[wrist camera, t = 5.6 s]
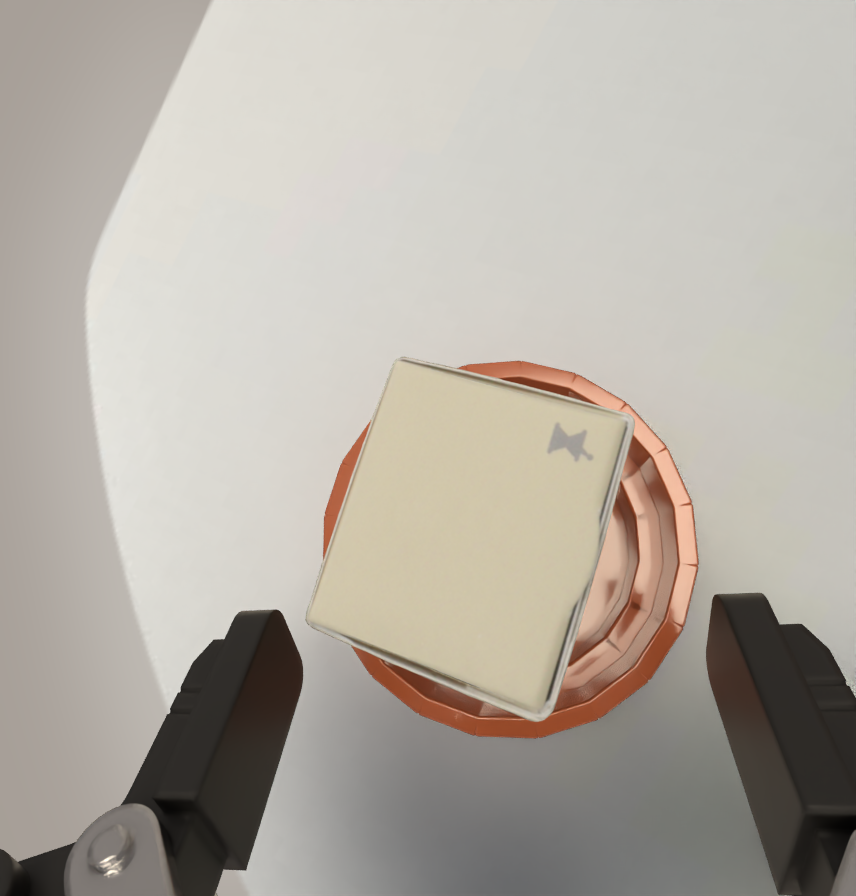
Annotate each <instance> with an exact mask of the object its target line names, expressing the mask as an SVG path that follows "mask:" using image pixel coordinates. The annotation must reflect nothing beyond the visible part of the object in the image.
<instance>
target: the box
mask: <svg viewBox="0 0 856 896" xmlns="http://www.w3.org/2000/svg"><path fill="white" fill-rule="evenodd" d="M634 427H635V421H634V417H633V416H631V415H630V414H628V413H625V412H621V411H617V410H613V409H609V408H606V407H602V406H598V405H594V404H591V403H587V402H584V401H581V400H577V399H574V398H570V397H567V396H563V395H560V394H556V393H552V392H548V391H544V390H540V389H537V388H533V387H529V386H525V385H522V384H518V383H513V382H509V381H505V380H502V379H499V378H495V377H490V376H486V375H481V374H477V373H473V372H469V371H465V370H461V369H457V368H452V367H448V366H444V365H439V364H434V363H429V362H424V361H420V360H417V359H412V358H407V357H401V358H398V359H396V360H395V362H394V364H393V366H392V368H391V370H390V373H389V376H388V378H387V381H386V384H385V386H384V389H383V391H382V394H381V397H380V399H379V402H378V405H377V407H376V410H375V413H374V415H373V418H372V420H371V423H370V426H369V429H368V432H367V435H366V437H365V440H364V442H363V445H362V448H361V451H360V454H359V456H358V459H357V462H356V465H355V468H354V471H353V473H352V476H351V479H350V482H349V485H348V489H347V492H346V495H345V498H344V500H343V503H342V506H341V508H340V511H339V514H338V518H337V521H336V524H335V527H334V530H333V533H332V536H331V539H330V542H329V545H328V548H327V551H326V554H325V557H324V560H323V563H322V566H321V569H320V573H319V576H318V579H317V582H316V586H315V589H314V592H313V595H312V599H311V601H310V604H309V607H308V609H307V613H306V619H305V620H306V622H307V623H308V625H310V626H311V627H312V628H314V629H316V630H318V631H320V632H322V633H325V634H327V635H329V636H331V637H333V638H336V639H338V640H340V641H342V642H345V643H347V644H349V645H351V646H354V647H356V648H359V649H361V650H363V651H366V652H368V653H370V654H372V655H374V656H376V657H378V658H380V659H383V660H385V661H387V662H389V663H392V664H394V665H397V666H400V667H402V668H404V669H407V670H409V671H411V672H414V673H416V674H418V675H420V676H423V677H425V678H427V679H430V680H432V681H434V682H437V683H439V684H441V685H444V686H446V687H449V688H451V689H454V690H456V691H459V692H461V693H463V694H465V695H468V696H470V697H473V698H475V699H478V700H480V701H483V702H485V703H488V704H490V705H493V706H495V707H498V708H500V709H503V710H505V711H508V712H510V713H513V714H515V715H518V716H520V717H522V718H525V719H527V720H529V721H533V722H539V721H543V720H545V719H546V718H547V717H548V716H550V714H551V713H552V712H553V710H554V708H555V705H556V702H557V698H558V695H559V692H560V689H561V686H562V682H563V679H564V676H565V673H566V670H567V666H568V663H569V660H570V657H571V654H572V651H573V647H574V644H575V641H576V637H577V634H578V630H579V627H580V624H581V620H582V617H583V613H584V610H585V606H586V603H587V599H588V596H589V592H590V589H591V586H592V582H593V579H594V575H595V572H596V568H597V565H598V561H599V558H600V554H601V551H602V547H603V544H604V540H605V537H606V533H607V529H608V525H609V522H610V518H611V514H612V510H613V506H614V503H615V499H616V495H617V491H618V487H619V484H620V480H621V476H622V472H623V469H624V465H625V461H626V457H627V454H628V450H629V446H630V443H631V440H632V437H633V433H634Z"/></svg>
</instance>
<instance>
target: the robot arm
mask: <svg viewBox="0 0 856 896" xmlns="http://www.w3.org/2000/svg"><path fill="white" fill-rule="evenodd" d="M706 661H707V670H708V676H709V680H710V684H711V688H712V691H713V694H714V697H715V700H716V703H717V706H718V709H719V712H720V716H721V719H722V722H723V725H724V728H725V731H726V734H727V737H728V740H729V743H730V746H731V749H732V753H733V756H734V759H735V762H736V765H737V768H738V771H739V774H740V777H741V780H742V783H743V786H744V789H745V793H746V796H747V799H748V802H749V805H750V808H751V811H752V814H753V817H754V820H755V823H756V826H757V830H758V833H759V836H760V839H761V842H762V845H763V848H764V851H765V854H766V857H767V860H768V863H769V867H770V870H771V873H772V876H773V879H774V882H775V885H776V888H777V891H778V894H779V895H802V896H856V698H855V696H854V694H853V692H852V691H851V689H850V687H849V686H847V685H846V679H845V678H844V676H843V674H842V672H841V670H840V668H839V666H838V665H837V663H836V661H835V659H834V657H833V655H832V653H831V652H830V650H829V649H828V648H827V647H826V646H825V645H824V644H823V643H822V642H821V641H820V640H819V639H818V638H816V637H815V636H814V635H813V634H812V633H811V632H810V631H809V630H808V629H807V628H806V627H805V626H803V625H802V624H783V625H779V623H778V620H777V618H776V616H775V614H774V612H773V610H772V608H771V606H770V604H769V602H768V600H767V598H766V597H765V596H764V595H763V594H762V593H742V594H716V595H714V597H713V600H712V608H711V616H710V624H709V632H708V640H707V648H706ZM302 683H303V665H302V660H301V657H300V654H299V652H298V650H297V647H296V645H295V642H294V640H293V638H292V635H291V633H290V631H289V628H288V626H287V624H286V621H285V619H284V616H283V615H282V613H281V612H280V611H279V610H256V611H241V612H239V613H238V614H237V615H236V616H235V618H234V620H233V622H232V624H231V626H230V628H229V631H228V633H227V635H226V637H225V639H221V640H213V641H212V642H211V643H210V644H209V646H208V647H207V648H206V649H205V650H204V651H203V652H202V653H201V654H200V655H199V656H198V657H197V659H196V660H195V661H194V662H193V663H192V665H191V668H190V670H189V672H188V674H187V676H186V678H185V680H184V682H183V684H182V686H181V692H180V693H178V694H177V696H176V698H175V700H174V702H173V704H172V706H171V708H170V710H171V711H170V714H167V716H166V718H165V721H164V722H163V724H162V726H161V728H160V730H159V732H158V735H157V736H156V738H155V740H154V742H153V745H152V746H151V749H150V750H149V753H148V755H147V757H146V759H145V761H144V763H143V765H142V767H141V769H140V771H139V773H138V775H137V777H136V779H135V781H134V783H133V785H132V787H131V789H130V791H129V793H128V795H127V796H126V798H125V800H124V801H123V803H122V804H121V806H119V807H116V808H114V809H112V810H110V811H108V812H106V813H105V814H103V815H102V816H100V817H99V818H98V819H96V820H95V821H94V822H93V823H92V824H91V825H90V826H89V827H88V828H87V829H86V830H85V831H84V832H83V833H82V835H81V836H80V837H79V839H78V840H77V842H75V843H72V844H70V845H67V846H64V847H61V848H58V849H55V850H52V851H49V852H46V853H43V854H40V855H37V856H34V857H31V858H28V859H25V860H22V861H19V862H17V861H15V860H14V859H13V858H12V857H11V856H10V855H9V854H8V853H6V852H5V851H4V850H1V849H0V896H217V893H216V890H217V887H218V884H219V881H220V878H221V875H222V871H223V869H226V870H246V869H247V865H248V862H249V859H250V856H251V852H252V849H253V846H254V843H255V839H256V836H257V833H258V829H259V826H260V823H261V820H262V816H263V813H264V810H265V807H266V803H267V800H268V797H269V794H270V790H271V787H272V784H273V781H274V777H275V774H276V771H277V768H278V764H279V761H280V758H281V755H282V751H283V748H284V745H285V741H286V738H287V735H288V732H289V728H290V725H291V722H292V719H293V715H294V712H295V709H296V706H297V702H298V699H299V696H300V693H301V689H302Z"/></svg>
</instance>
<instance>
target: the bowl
mask: <svg viewBox="0 0 856 896" xmlns="http://www.w3.org/2000/svg"><path fill="white" fill-rule="evenodd" d="M457 369H461V370H465V371H469V372H473V373H477V374H481V375H486V376H490V377H495V378H499V379H502V380H505V381H509V382H513V383H518V384H522V385H525V386H529V387H533V388H537V389H540V390H544V391H548V392H552V393H556V394H560V395H563V396H567V397H570V398H574V399H577V400H581V401H584V402H587V403H591V404H594V405H598V406H602V407H606V408H609V409H613V410H617V411H621V412H625V413H628V414H630V415H631V416H633V417H634V421H635V427H634V433H633V437H632V440H631V443H630V446H629V450H628V454H627V457H626V461H625V465H624V469H623V472H622V476H621V480H620V484H619V487H618V491H617V495H616V499H615V503H614V506H613V510H612V514H611V518H610V522H609V525H608V529H607V533H606V537H605V540H604V544H603V547H602V551H601V554H600V558H599V561H598V565H597V568H596V572H595V575H594V579H593V582H592V586H591V589H590V592H589V596H588V599H587V603H586V606H585V610H584V613H583V617H582V620H581V624H580V627H579V630H578V634H577V637H576V641H575V644H574V647H573V651H572V654H571V657H570V660H569V663H568V666H567V670H566V673H565V676H564V679H563V682H562V686H561V689H560V692H559V695H558V698H557V702H556V705H555V708H554V710H553V712H552V713H551V714H550V716H548V717H547V718H546V719H545V720H543V721H539V722H533V721H529V720H527V719H525V718H522V717H520V716H518V715H515V714H513V713H510V712H508V711H505V710H503V709H500V708H498V707H495V706H493V705H490V704H488V703H485V702H483V701H480V700H478V699H475V698H473V697H470V696H468V695H465V694H463V693H461V692H459V691H456V690H454V689H451V688H449V687H446V686H444V685H441V684H439V683H437V682H434V681H432V680H430V679H427V678H425V677H423V676H420V675H418V674H416V673H414V672H411V671H409V670H407V669H404V668H402V667H400V666H397V665H394V664H392V663H389V662H387V661H385V660H383V659H380V658H378V657H376V656H374V655H372V654H370V653H368V652H366V651H363V650H361V649H359V648H356V647H354V646H352V648H353V649H354V651H355V652H356V654H357V656H358V657H359V659H360V660H361V662H362V663H363V665H364V666H365V668H366V669H367V671H368V672H369V674H370V675H372V677H373V678H374V679H375V680H376V681H378V682H379V683H380V684H381V685H383V686H384V687H385V688H386V689H387V690H389V691H390V692H391V693H392V694H394V695H395V696H396V697H397V698H399V699H400V700H401V701H402V702H403V703H405V704H406V705H407V706H408V707H410V708H411V709H412V710H413V711H414V712H416V713H419V715H421V716H424V717H426V718H429V719H432V720H434V721H437V722H439V723H442V724H445V725H447V726H450V727H452V728H455V729H458V730H460V731H463V732H466V733H468V734H471V735H476V736H479V737H507V738H538V737H539V738H542V737H545V736H548V735H552V734H555V733H558V732H561V731H564V730H567V729H571V728H574V727H577V726H580V725H583V724H587V723H590V722H593V721H596V720H598V718H602V717H603V716H604V715H606V714H607V713H608V712H610V711H611V710H612V709H613V708H615V707H616V706H617V705H619V704H620V703H621V702H623V701H624V700H625V699H627V698H628V697H629V696H631V695H632V694H633V693H635V692H636V691H637V690H639V689H640V688H641V687H642V686H644V685H645V684H646V683H648V680H650V679H651V678H652V677H653V675H654V674H655V672H656V670H657V669H658V667H659V666H660V664H661V663H662V661H663V660H664V658H665V657H666V655H667V653H668V652H669V650H670V649H671V647H672V646H673V644H674V643H675V641H676V640H677V638H678V637H679V635H680V633H681V632H682V630H683V627H684V626H685V622H686V618H687V614H688V610H689V606H690V601H691V597H692V593H693V589H694V585H695V580H696V576H697V572H698V564H699V561H698V551H697V541H696V531H695V521H694V511H693V505H692V504H691V503H692V501H691V499H690V496H689V494H688V492H687V490H686V487H685V485H684V483H683V481H682V478H681V476H680V474H679V472H678V470H677V467H676V465H675V463H674V461H673V458H672V456H671V454H670V452H669V450H668V449H667V447H666V445H665V444H664V443H663V442H662V441H661V440H660V438H659V437H658V436H657V435H656V434H655V433H654V432H653V431H652V430H651V428H650V427H649V426H648V425H647V424H646V423H645V422H644V421H643V420H642V419H641V417H640V416H639V415H638V414H637V413H636V412H635V411H634V410H633V409H632V408H631V406H630V405H629V404H626V402H625V401H623V400H621V399H620V398H618V397H616V396H615V395H613V394H611V393H609V392H608V391H606V390H604V389H603V388H601V387H599V386H597V385H596V384H594V383H592V382H590V381H589V380H587V379H585V378H584V377H582V376H580V375H578V374H577V375H576V374H575V373H572V372H568V371H564V370H559V369H555V368H551V367H546V366H542V365H537V364H533V363H529V362H524V361H522V362H521V361H510V362H497V363H483V364H470V365H466V366H462V367H459V368H457ZM370 423H371V421H370V422H369V424H368V425H367V427H366V428H365V429H364V431H363V432H362V434H361V435H360V437H359V438H358V439H357V441H356V442H355V444H354V445H353V447H352V448H351V449H350V451H349V452H348V454H347V455H346V457H345V458H344V459H343V461H342V463H341V465H340V468H339V471H338V474H337V477H336V480H335V484H334V487H333V490H332V493H331V496H330V499H329V502H328V505H327V508H326V511H325V516H324V547H323V560H324V557H325V554H326V551H327V548H328V545H329V542H330V539H331V536H332V533H333V530H334V527H335V524H336V521H337V518H338V514H339V511H340V508H341V506H342V503H343V500H344V498H345V495H346V492H347V489H348V485H349V482H350V479H351V476H352V473H353V471H354V468H355V465H356V462H357V459H358V456H359V454H360V451H361V448H362V445H363V442H364V440H365V437H366V435H367V432H368V429H369V426H370Z"/></svg>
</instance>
